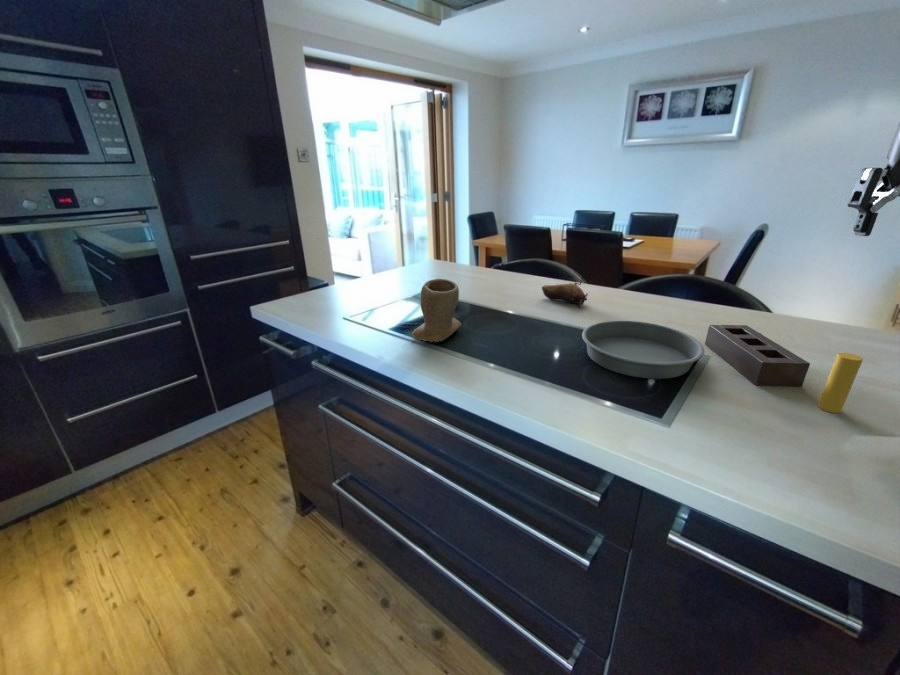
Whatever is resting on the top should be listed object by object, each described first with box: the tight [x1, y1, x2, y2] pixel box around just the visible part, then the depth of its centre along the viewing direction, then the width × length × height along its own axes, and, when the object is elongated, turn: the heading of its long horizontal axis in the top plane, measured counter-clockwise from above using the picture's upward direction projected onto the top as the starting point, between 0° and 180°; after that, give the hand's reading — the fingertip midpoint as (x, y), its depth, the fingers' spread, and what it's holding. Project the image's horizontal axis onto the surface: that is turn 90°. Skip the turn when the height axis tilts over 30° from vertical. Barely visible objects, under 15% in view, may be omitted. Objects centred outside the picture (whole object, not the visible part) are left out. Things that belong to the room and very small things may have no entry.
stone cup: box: [411, 278, 462, 343], centre depth 101 cm, size 15×12×15 cm
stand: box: [704, 324, 811, 388], centre depth 83 cm, size 8×20×5 cm, turn 174°
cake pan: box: [581, 320, 705, 380], centre depth 87 cm, size 25×25×4 cm
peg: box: [817, 352, 864, 414], centre depth 66 cm, size 3×3×10 cm
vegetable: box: [541, 276, 589, 308], centre depth 126 cm, size 16×11×10 cm
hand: (890, 235), depth 64 cm, fingers open, 8 cm apart
